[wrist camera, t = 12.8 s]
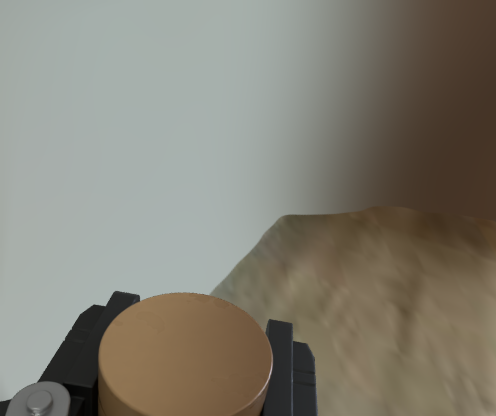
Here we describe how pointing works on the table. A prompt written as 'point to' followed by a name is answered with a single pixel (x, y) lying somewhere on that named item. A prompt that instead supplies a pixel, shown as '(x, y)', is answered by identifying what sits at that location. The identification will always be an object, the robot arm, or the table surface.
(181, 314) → the wooden cylinder
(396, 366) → the table surface
